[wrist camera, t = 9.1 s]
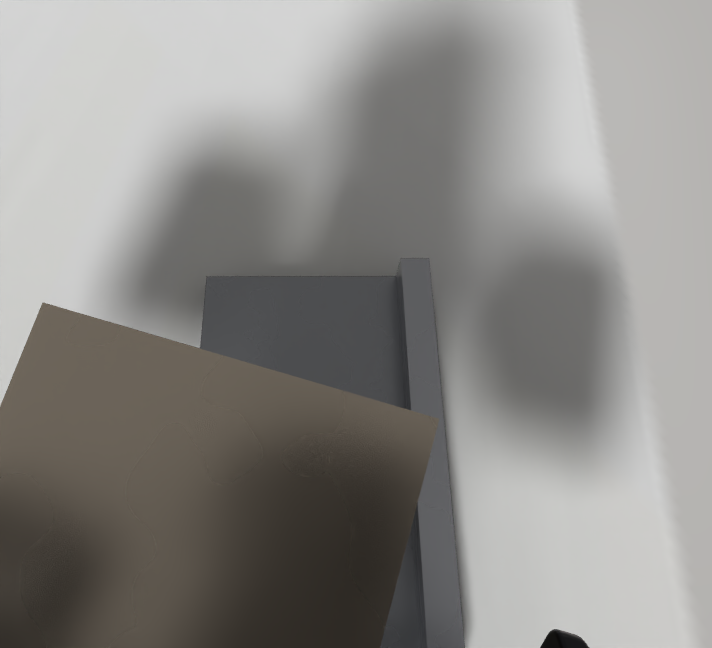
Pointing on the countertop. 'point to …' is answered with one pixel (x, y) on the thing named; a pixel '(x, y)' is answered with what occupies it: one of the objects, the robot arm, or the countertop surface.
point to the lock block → (195, 498)
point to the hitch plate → (368, 379)
